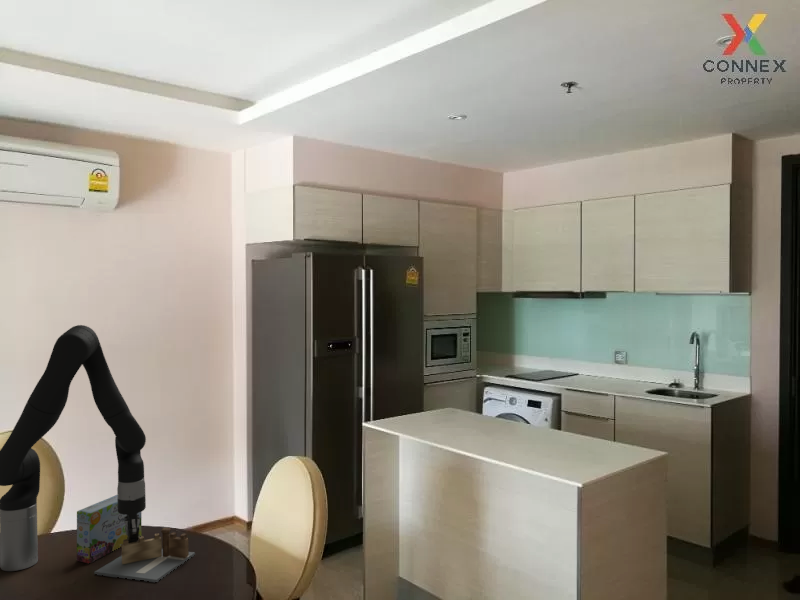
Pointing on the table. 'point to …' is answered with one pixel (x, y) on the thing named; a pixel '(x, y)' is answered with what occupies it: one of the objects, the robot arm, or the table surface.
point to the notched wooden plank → (174, 544)
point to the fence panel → (141, 549)
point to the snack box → (100, 530)
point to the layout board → (143, 568)
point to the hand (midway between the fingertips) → (132, 553)
